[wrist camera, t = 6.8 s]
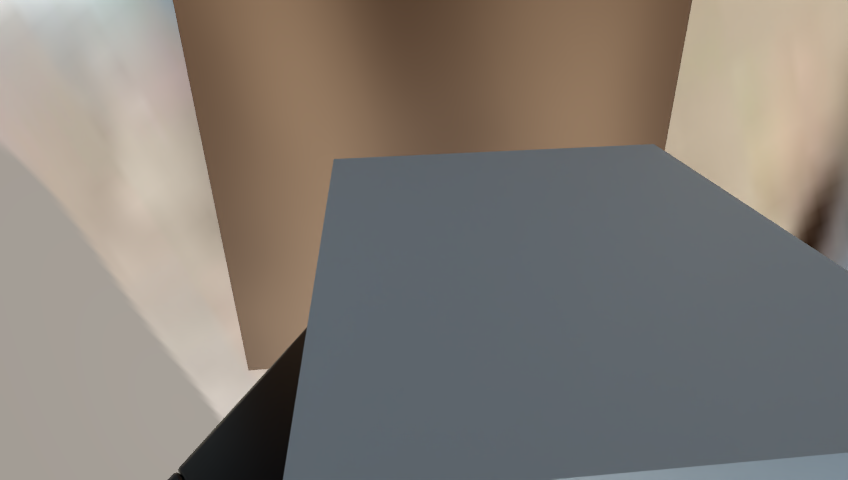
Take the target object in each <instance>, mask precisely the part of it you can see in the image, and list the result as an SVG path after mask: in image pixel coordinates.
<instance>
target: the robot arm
mask: <svg viewBox="0 0 848 480" xmlns="http://www.w3.org/2000/svg"><path fill="white" fill-rule="evenodd" d="M306 331H307V328H306V329H305V330H304V331H303V332H302V333H301V334H300V335H299V336H298V337H297V339H296V340H295V341H294V342H293V343H292V344H291V345H290V346H289V347H288V348H287V350H286V351H285V352H284V353H283V354H282V355H281V356H280V357H279V358H278V359H277V361H276V362H275V363H274V364H273V365H272V366H271V367H270V368H269V369H268V370H267V372H266V373H265V374H264V375H263V376H262V377H261V378H260V379H259V380H258V381H257V383H256V384H255V385H254V386H253V387H252V388H251V389H250V390H249V391H248V392H247V394H246V395H245V396H244V397H243V398H242V399H241V400H240V401H239V402H238V403H237V405H236V406H235V407H234V408H233V409H232V410H231V411H230V412H229V413H228V414H227V416H226V417H225V418H224V419H223V420H222V421H221V422H220V423H219V424H218V425H217V427H216V428H215V429H214V430H213V431H212V432H211V433H210V434H209V436H208V437H207V438H206V439H205V440H204V441H203V442H202V443H201V444H200V445H199V446H198V448H197V449H196V450H195V451H194V452H193V453H192V454H191V455H190V456H189V457H188V459H187V460H186V461H185V462H184V463H183V464H182V465H181V466H180V467H179V469H178V472H179V473H174V474H173V475H172V476H171V477H170V478H169V479H168V480H283V476H284V470H285V463H286V457H287V451H288V444H289V438H290V432H291V425H292V419H293V413H294V406H295V400H296V394H297V388H298V381H299V375H300V369H301V362H302V356H303V350H304V343H305V337H306Z"/></svg>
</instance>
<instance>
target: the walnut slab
mask: <svg viewBox="0 0 848 480" xmlns="http://www.w3.org/2000/svg"><path fill="white" fill-rule="evenodd" d="M173 3H174V8H175V13H176V18H177V23H178V28H179V33H180V37H181V42H182V47H183V52H184V57H185V62H186V67H187V72H188V77H189V81H190V86H191V91H192V96H193V101H194V106H195V111H196V116H197V120H198V125H199V130H200V135H201V140H202V145H203V150H204V155H205V159H206V164H207V169H208V174H209V179H210V184H211V189H212V194H213V199H214V203H215V208H216V213H217V218H218V223H219V228H220V233H221V238H222V242H223V247H224V252H225V257H226V262H227V267H228V272H229V277H230V282H231V286H232V291H233V296H234V301H235V306H236V311H237V316H238V321H239V325H240V330H241V335H242V340H243V345H244V350H245V355H246V360H247V364H248V369H249V370H258V369H269V368H270V367H271V366H272V365H273V364H274V363H275V362H276V361H277V359H278V358H279V357H280V356H281V355H282V354H283V353H284V352H285V351H286V350H287V348H288V347H289V346H290V345H291V344H292V343H293V342H294V341H295V340H296V339H297V337H298V336H299V335H300V334H301V333H302V332H303V331H304V330H305V329H306V328H307V324H308V318H309V312H310V305H311V299H312V293H313V287H314V280H315V274H316V268H317V261H318V255H319V249H320V242H321V236H322V230H323V223H324V217H325V211H326V204H327V198H328V192H329V186H330V179H331V173H332V167H333V160H334V159H345V158H367V157H388V156H410V155H431V154H452V153H474V152H495V151H517V150H538V149H559V148H581V147H602V146H624V145H645V144H655V145H656V146H658V147H659V148H661V149H662V150H665V145H666V139H667V134H668V129H669V123H670V118H671V112H672V107H673V101H674V96H675V90H676V85H677V80H678V74H679V69H680V63H681V58H682V52H683V47H684V41H685V36H686V31H687V25H688V20H689V14H690V9H691V3H692V0H173Z"/></svg>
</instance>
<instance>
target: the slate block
mask: <svg viewBox="0 0 848 480" xmlns="http://www.w3.org/2000/svg"><path fill="white" fill-rule="evenodd" d="M283 480H848V271H847V270H845V269H844V268H842V267H841V266H839V265H838V264H836V263H835V262H833V261H832V260H830V259H829V258H827V257H825V256H824V255H822V254H821V253H819V252H818V251H816V250H815V249H813V248H812V247H810V246H809V245H807V244H806V243H804V242H803V241H801V240H800V239H798V238H796V237H795V236H793V235H792V234H790V233H789V232H787V231H786V230H784V229H783V228H781V227H780V226H778V225H777V224H775V223H774V222H772V221H771V220H769V219H767V218H766V217H764V216H763V215H761V214H760V213H758V212H757V211H755V210H754V209H752V208H751V207H749V206H748V205H746V204H745V203H743V202H742V201H740V200H738V199H737V198H735V197H734V196H732V195H731V194H729V193H728V192H726V191H725V190H723V189H722V188H720V187H719V186H717V185H716V184H714V183H713V182H711V181H710V180H708V179H706V178H705V177H703V176H702V175H700V174H699V173H697V172H696V171H694V170H693V169H691V168H690V167H688V166H687V165H685V164H684V163H682V162H681V161H679V160H677V159H676V158H674V157H673V156H671V155H670V154H668V153H667V152H665V151H664V150H662V149H661V148H659V147H658V146H656V145H655V144H645V145H624V146H602V147H581V148H559V149H538V150H517V151H495V152H474V153H452V154H431V155H410V156H388V157H367V158H345V159H334V160H333V167H332V173H331V179H330V186H329V192H328V198H327V204H326V211H325V217H324V223H323V230H322V236H321V242H320V249H319V255H318V261H317V268H316V274H315V280H314V287H313V293H312V299H311V305H310V312H309V318H308V324H307V331H306V337H305V343H304V350H303V356H302V362H301V369H300V375H299V381H298V388H297V394H296V400H295V406H294V413H293V419H292V425H291V432H290V438H289V444H288V451H287V457H286V463H285V470H284V476H283Z"/></svg>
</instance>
